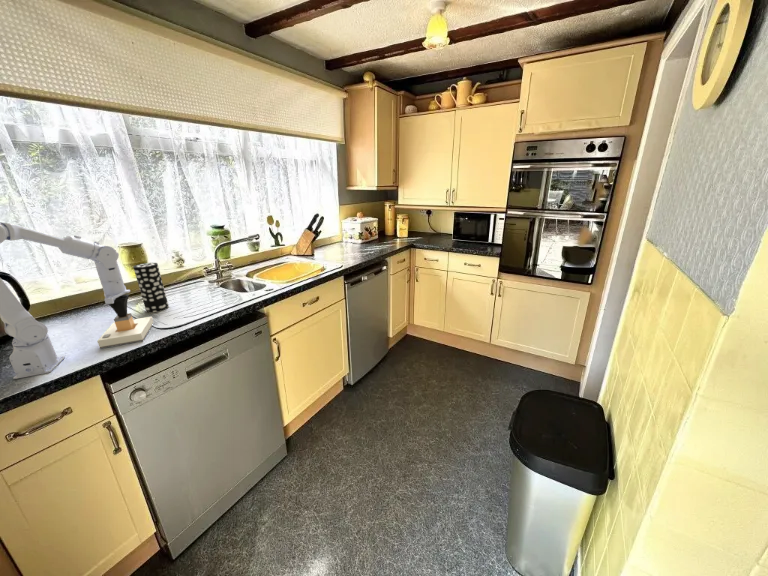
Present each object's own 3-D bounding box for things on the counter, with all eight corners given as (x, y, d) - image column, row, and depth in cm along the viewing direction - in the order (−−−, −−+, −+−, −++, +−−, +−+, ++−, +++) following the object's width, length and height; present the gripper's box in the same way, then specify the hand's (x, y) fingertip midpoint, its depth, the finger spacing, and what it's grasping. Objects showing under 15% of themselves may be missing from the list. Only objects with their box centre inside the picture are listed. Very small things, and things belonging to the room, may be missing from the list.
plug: (133, 334, 111) (128, 317, 109) (119, 337, 110) (113, 319, 107) (136, 330, 115) (131, 313, 112) (123, 332, 113) (117, 315, 111)
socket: (143, 341, 108) (140, 332, 107) (100, 348, 103) (96, 339, 102) (153, 323, 122) (151, 315, 121) (115, 329, 117) (113, 321, 116)
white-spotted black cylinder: (143, 313, 131) (130, 268, 125) (149, 306, 139) (137, 263, 132) (166, 310, 134) (154, 266, 128) (170, 304, 142) (159, 261, 135)
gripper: (119, 284, 101) (130, 321, 105) (131, 273, 113) (141, 307, 118) (91, 287, 98) (104, 325, 103) (107, 275, 111) (119, 310, 115)
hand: (123, 316), depth 110 cm, fingers closed
